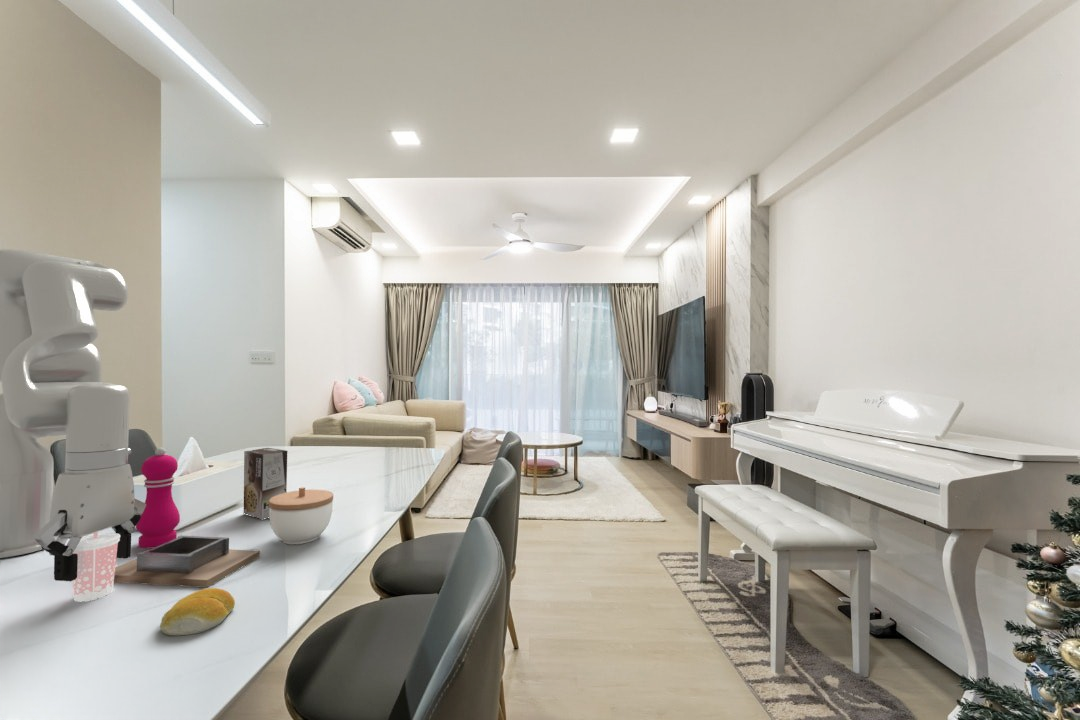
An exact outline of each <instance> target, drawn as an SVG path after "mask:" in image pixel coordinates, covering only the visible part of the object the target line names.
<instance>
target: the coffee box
mask: <svg viewBox="0 0 1080 720" xmlns="http://www.w3.org/2000/svg"><path fill="white" fill-rule="evenodd" d="M243 453H244V455H243V456H244V457H243V458H244V459H243V514H244V513H245V514H248V515H251V516H254V517H257V518H260V519H264V518H268V517H269V500H270V498H272V497H274V496H276V495H279V494H282V493H286V492H287V489H288V488H287V485H288V484H287V483H288V481H287V480H288V479H287V478H288V450H286V449H280V448H272V447H264V448H257V449H251V450H245V451H244V452H243ZM251 516H250V517H251ZM254 517H253V518H254ZM257 518H256V519H257ZM260 519H259V520H260ZM268 519H269V518H268ZM264 520H265V519H264Z"/></svg>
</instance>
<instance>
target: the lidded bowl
mask: <svg viewBox="0 0 1080 720" xmlns="http://www.w3.org/2000/svg"><path fill="white" fill-rule="evenodd" d="M333 501H334V493H333V492H331V491H330V490H326V489H325V490H324V489H306V487H305V486H301V487H299V488H298V490H294V491H286V493H282V494H279V495H276V496H274V497H272V498H270V500H269V518H268V519H269V524H270V527H271V530H272V532H273V533H274V535H275V536H276V537H277V538H279V540H281V542H282V543H283V544H286V545H294V544H295V545H302V544H303V545H304V544H308V543H311V542H315V541H316V540H318V539H319V538H320V536H321V534H322V533H323V532H324V531H325V530H326V528H327V527H328V526H329V524H330V522H331V518H332V513H333ZM295 545H294V546H295Z"/></svg>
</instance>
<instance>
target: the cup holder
mask: <svg viewBox="0 0 1080 720" xmlns="http://www.w3.org/2000/svg"><path fill="white" fill-rule="evenodd" d="M260 556H261V554H260V550H251V549H247V550H246V549H230V538H229V537H222V536H220V537H219V536H200V535H199V536H198V535H195V536H194V535H179V536H177V538H176V539H174V540H171V541H169V542H166V543H164V544H162V545H159V546H157V547H154V548H149V549H148V550H145V551H140V552H138V553H136V558H135V559H131V560H130V561H127V562H125V563H123V564H120V565H118V566H115V574H114V583H123V582H129V584H141V583H147V584H146V585H158V586H159V585H162V586H164V585H165V586H176V585H183V586H182V587H194V586H199V587H200V588H209V587H210V586H212V585H214V584H216V583H217V582H219V581H221V580H222V578H223V579H224V578H226V577H227V575H228V576H229V575H231V574H232V572H233V573H234V571H235V572H236V571H238V570H240V569H241V567H242V566H243V567H245V566H247V565H248V564H251V563H252V562H254V561H255V560H257V559H259V558H260ZM253 560H254V561H253ZM246 564H247V565H246ZM244 565H245V566H244ZM243 567H242V568H243ZM239 568H240V569H239ZM237 569H238V570H237ZM225 576H226V577H225ZM199 587H198V588H199Z"/></svg>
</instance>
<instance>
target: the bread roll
mask: <svg viewBox="0 0 1080 720" xmlns="http://www.w3.org/2000/svg"><path fill="white" fill-rule="evenodd" d="M235 605H236V604H235V599H234V597H233V596H232V594H231V593H230V592H228V591H227V590H224V589H222V588H217V587H212V588H211V587H210V588H209V587H207V588H203V589H200V590H198V591H194V592H192V593H190V594H188V595H187V596H185V597H183V598H181V599H179V600H178V601H177V602H176V603H175V604H173V606H172V607H171V608H170V609H168V610H167V611H165V613H164V614H163V616H162V618H161V622H160V626H159V627H160V630H161V631H162V633H164V634H165V635H168V636H172V637H173V636H176V637H177V636H189V635H196V634H201V633H203V632H206V631H208V630H211V629H212V628H215V627H217V626H218V625H219V624H220V625H221V623H222V622H223V621H224V620H225V619H226V618H227V616H229V614H231V612H232V610H234V608H235V607H236V606H235Z"/></svg>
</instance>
